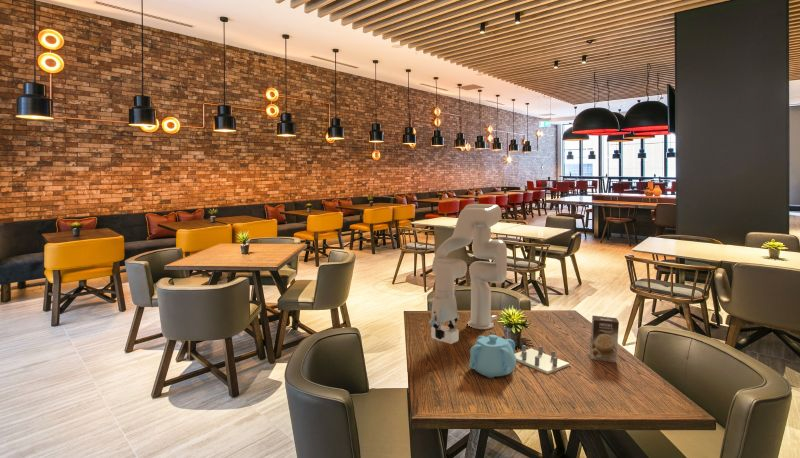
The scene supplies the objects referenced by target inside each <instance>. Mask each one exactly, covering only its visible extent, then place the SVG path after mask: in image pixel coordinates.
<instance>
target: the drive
mask: <svg viewBox="0 0 800 458" xmlns="http://www.w3.org/2000/svg"><path fill="white" fill-rule="evenodd" d="M430 330H431V331H430V332H431V333H430V335H431V336H430V337H431V339H433V340H437V341H441V342H444V343H447V344H451V345H452V344H454V343H457V342H458V341H459V340H460V339H459V338H460V337H459V335H460V334H459V332H460V331H459V329H458V328H455V327H454V328H451V327H448V325H445V324H444V325H443V324H442V325H441V330H442V339H438V338H436V337H435V328H434V327H433V326H431V327H430Z"/></svg>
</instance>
